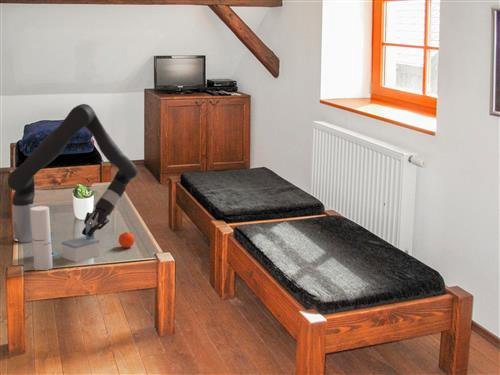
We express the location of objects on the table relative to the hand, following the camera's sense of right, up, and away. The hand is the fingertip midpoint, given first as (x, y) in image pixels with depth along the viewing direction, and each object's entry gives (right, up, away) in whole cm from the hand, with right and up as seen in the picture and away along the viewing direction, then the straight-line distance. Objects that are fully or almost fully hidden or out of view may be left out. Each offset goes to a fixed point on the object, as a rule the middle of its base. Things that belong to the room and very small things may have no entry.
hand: (86, 235), depth 320 cm
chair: (-18, -9, 0) cm, 20 cm away
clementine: (+15, -6, +14) cm, 22 cm away
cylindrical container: (-14, -13, -15) cm, 24 cm away
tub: (-2, -9, 0) cm, 9 cm away
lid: (-2, -5, -1) cm, 5 cm away
